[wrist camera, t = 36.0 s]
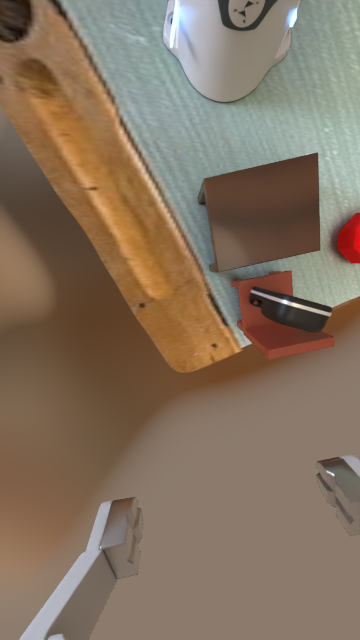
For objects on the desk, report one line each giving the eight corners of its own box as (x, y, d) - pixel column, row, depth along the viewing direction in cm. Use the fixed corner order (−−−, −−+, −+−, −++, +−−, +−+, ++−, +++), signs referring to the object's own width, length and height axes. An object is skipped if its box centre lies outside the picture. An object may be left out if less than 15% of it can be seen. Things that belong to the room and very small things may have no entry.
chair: (229, 279, 39) (261, 287, 25) (275, 269, 39) (333, 272, 25) (236, 327, 42) (268, 359, 28) (279, 318, 42) (334, 346, 27)
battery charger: (243, 306, 35) (275, 325, 24) (251, 285, 34) (287, 294, 23) (280, 316, 36) (327, 339, 25) (288, 295, 35) (341, 309, 24)
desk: (197, 196, 36) (203, 178, 28) (287, 176, 35) (318, 152, 28) (209, 270, 39) (218, 272, 32) (292, 253, 39) (320, 250, 31)
